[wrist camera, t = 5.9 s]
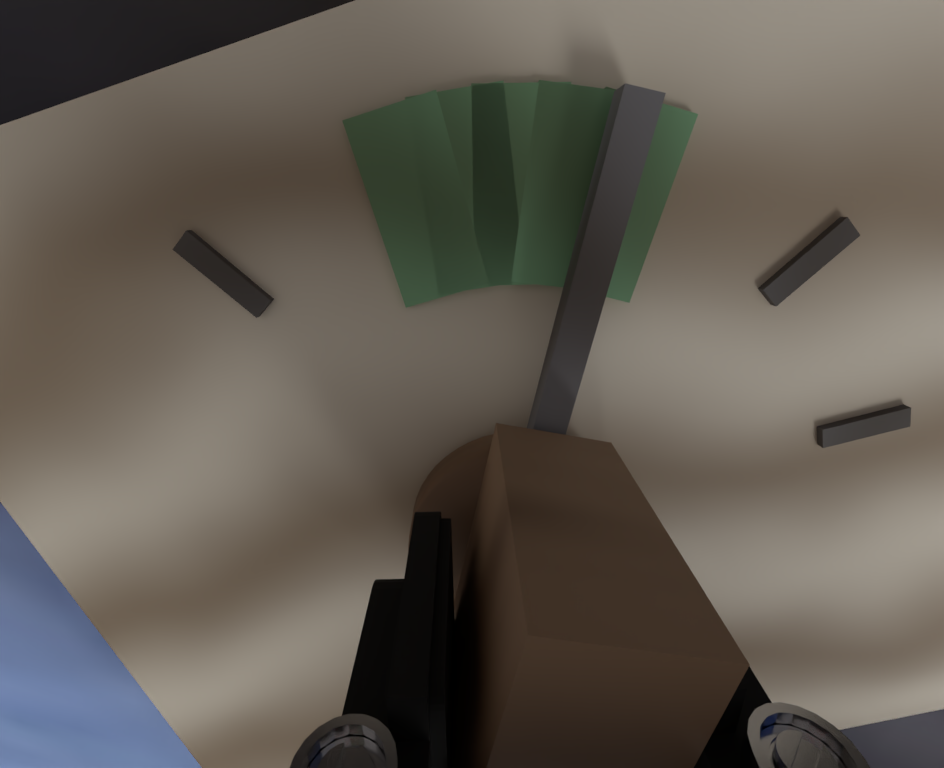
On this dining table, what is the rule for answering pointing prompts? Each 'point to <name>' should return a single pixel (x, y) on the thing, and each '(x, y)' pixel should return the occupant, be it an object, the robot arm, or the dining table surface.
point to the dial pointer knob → (576, 553)
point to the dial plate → (482, 331)
